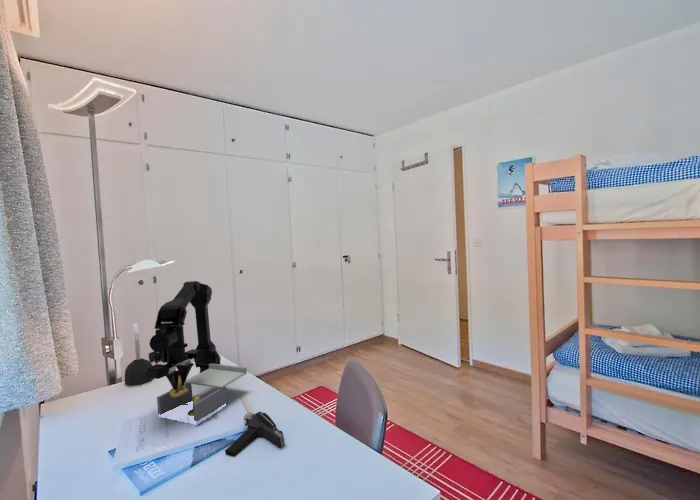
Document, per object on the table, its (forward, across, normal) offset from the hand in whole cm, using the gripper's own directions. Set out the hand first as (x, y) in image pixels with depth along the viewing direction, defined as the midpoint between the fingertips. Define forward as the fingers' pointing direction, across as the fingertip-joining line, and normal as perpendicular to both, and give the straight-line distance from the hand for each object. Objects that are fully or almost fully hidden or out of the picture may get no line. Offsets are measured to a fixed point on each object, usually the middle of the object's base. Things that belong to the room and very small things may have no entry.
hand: (178, 388), depth 117 cm
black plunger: (+9, -15, -40) cm, 44 cm away
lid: (+1, -13, +4) cm, 14 cm away
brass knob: (+8, 0, +8) cm, 11 cm away
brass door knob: (+2, 0, 0) cm, 2 cm away
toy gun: (+10, +5, +32) cm, 34 cm away
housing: (+9, -2, +4) cm, 10 cm away
